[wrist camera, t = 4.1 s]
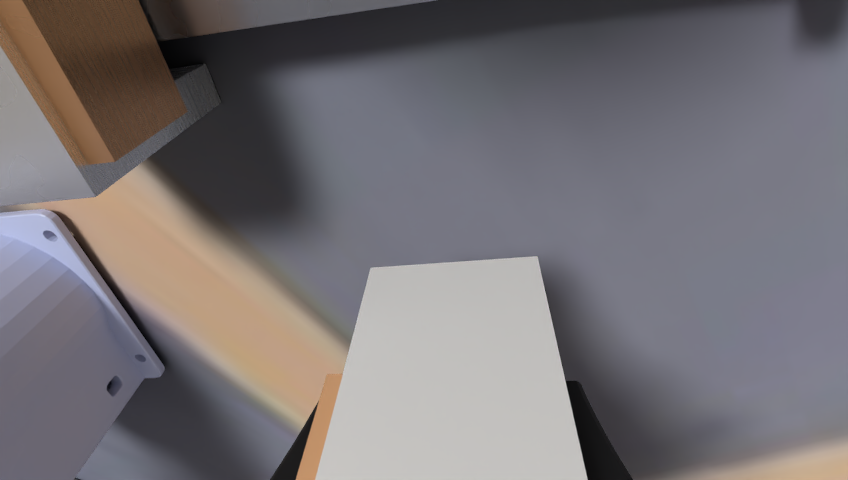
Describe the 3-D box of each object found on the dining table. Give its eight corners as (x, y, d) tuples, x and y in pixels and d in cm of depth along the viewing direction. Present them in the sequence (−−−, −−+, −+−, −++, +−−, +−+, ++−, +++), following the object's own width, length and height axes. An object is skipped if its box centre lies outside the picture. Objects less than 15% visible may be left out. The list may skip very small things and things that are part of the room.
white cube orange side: (537, 411, 14) (577, 676, 9) (391, 414, 15) (355, 664, 10) (537, 256, 11) (602, 545, 6) (347, 269, 11) (257, 540, 6)
